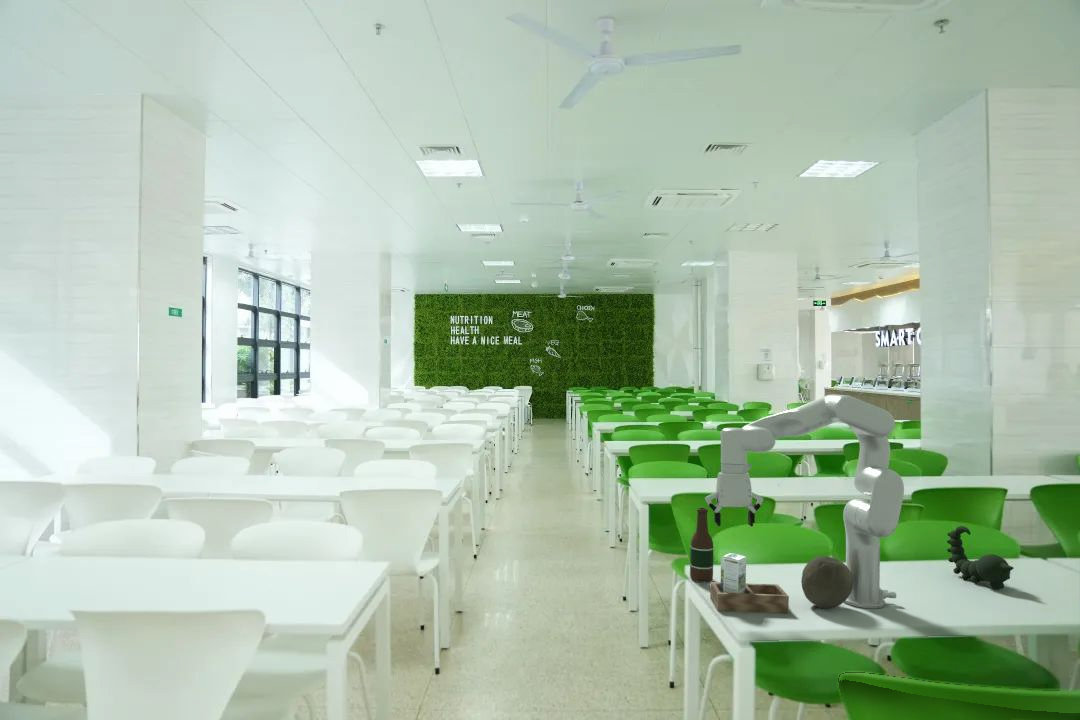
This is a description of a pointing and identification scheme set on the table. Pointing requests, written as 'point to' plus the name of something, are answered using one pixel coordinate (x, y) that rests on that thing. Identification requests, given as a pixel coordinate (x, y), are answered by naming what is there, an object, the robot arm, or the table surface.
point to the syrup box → (733, 573)
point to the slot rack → (751, 599)
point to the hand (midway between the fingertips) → (734, 525)
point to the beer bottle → (701, 550)
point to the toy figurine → (977, 563)
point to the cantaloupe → (826, 582)
